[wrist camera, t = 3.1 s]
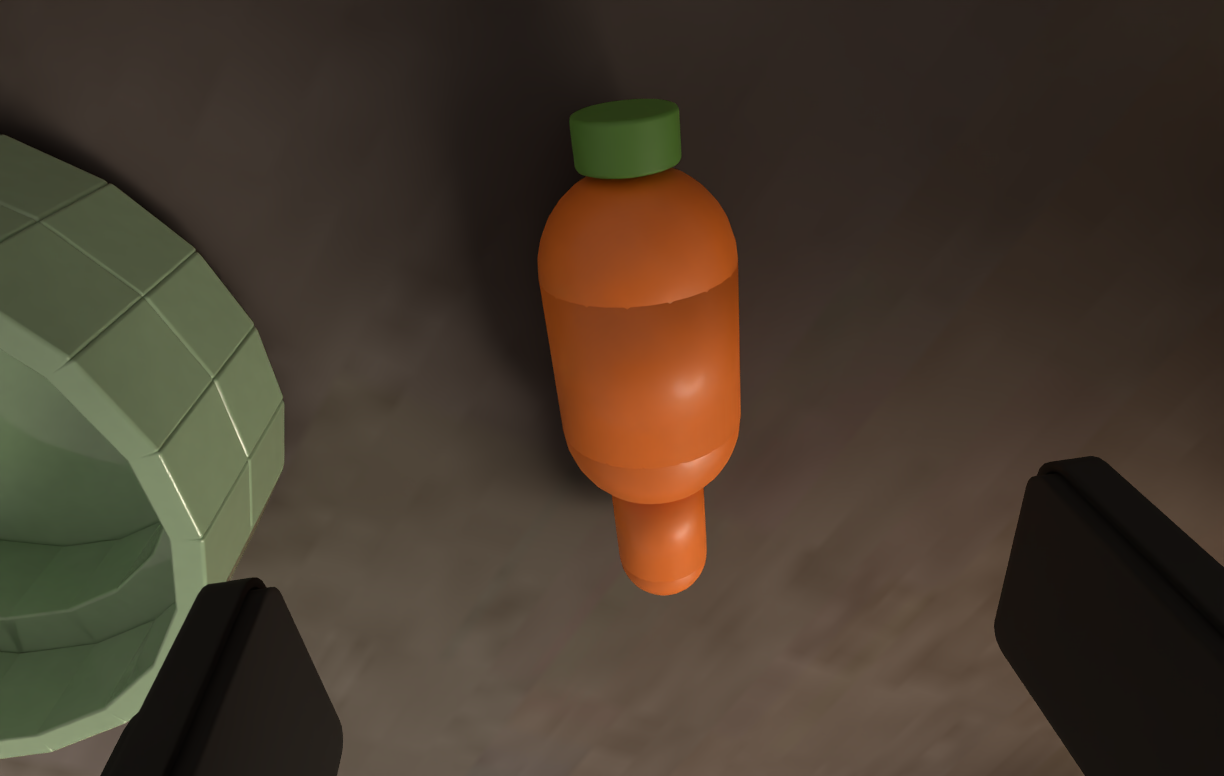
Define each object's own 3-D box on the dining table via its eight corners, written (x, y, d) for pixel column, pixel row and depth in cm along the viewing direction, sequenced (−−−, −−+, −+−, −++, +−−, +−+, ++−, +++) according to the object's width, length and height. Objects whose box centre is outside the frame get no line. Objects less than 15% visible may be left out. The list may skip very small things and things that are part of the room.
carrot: (517, 103, 15) (508, 147, 12) (712, 79, 15) (760, 117, 12) (585, 539, 21) (593, 653, 18) (725, 521, 21) (760, 631, 18)
